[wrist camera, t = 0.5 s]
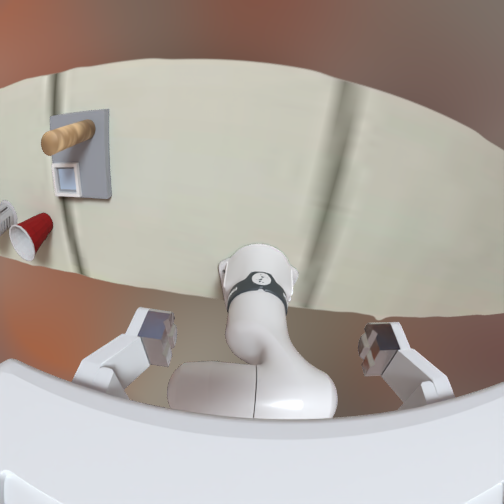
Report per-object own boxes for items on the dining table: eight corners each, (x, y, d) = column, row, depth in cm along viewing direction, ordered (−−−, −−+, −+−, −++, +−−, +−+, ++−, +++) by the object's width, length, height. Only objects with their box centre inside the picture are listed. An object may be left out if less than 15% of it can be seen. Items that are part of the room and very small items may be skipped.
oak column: (95, 139, 48) (58, 155, 37) (79, 139, 48) (42, 156, 37) (95, 118, 46) (57, 130, 35) (79, 120, 46) (40, 132, 35)
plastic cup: (28, 211, 60) (2, 232, 50) (47, 198, 58) (19, 219, 48) (44, 242, 65) (21, 266, 55) (65, 233, 63) (40, 257, 53)
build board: (111, 195, 57) (105, 200, 55) (61, 192, 57) (54, 197, 54) (109, 108, 47) (101, 110, 44) (55, 115, 46) (47, 117, 44)
